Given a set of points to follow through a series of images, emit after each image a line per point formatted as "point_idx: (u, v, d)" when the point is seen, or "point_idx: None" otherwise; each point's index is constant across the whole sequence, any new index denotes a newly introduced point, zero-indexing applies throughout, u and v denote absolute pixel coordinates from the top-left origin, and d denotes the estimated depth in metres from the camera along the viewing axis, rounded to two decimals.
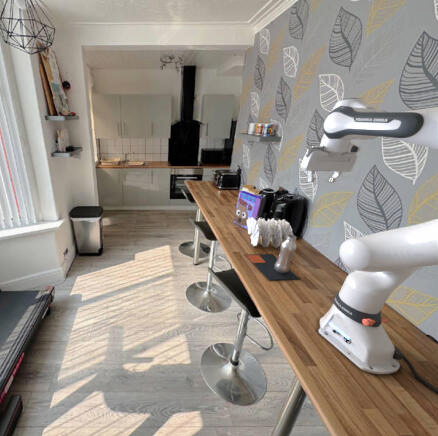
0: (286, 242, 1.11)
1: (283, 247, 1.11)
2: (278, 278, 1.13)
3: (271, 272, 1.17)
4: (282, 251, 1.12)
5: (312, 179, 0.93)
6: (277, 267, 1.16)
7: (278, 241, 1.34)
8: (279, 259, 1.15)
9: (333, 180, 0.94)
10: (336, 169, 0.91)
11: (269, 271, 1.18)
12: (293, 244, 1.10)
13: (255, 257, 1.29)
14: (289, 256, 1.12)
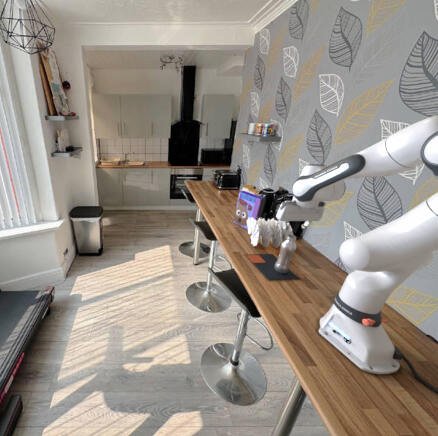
0: (286, 242, 1.11)
1: (283, 247, 1.11)
2: (278, 278, 1.13)
3: (271, 272, 1.17)
4: (282, 251, 1.12)
5: (286, 227, 1.07)
6: (277, 267, 1.16)
7: (278, 241, 1.34)
8: (279, 259, 1.15)
9: (305, 227, 1.08)
10: (306, 219, 1.05)
11: (269, 271, 1.18)
12: (293, 244, 1.10)
13: (255, 257, 1.29)
14: (289, 256, 1.12)
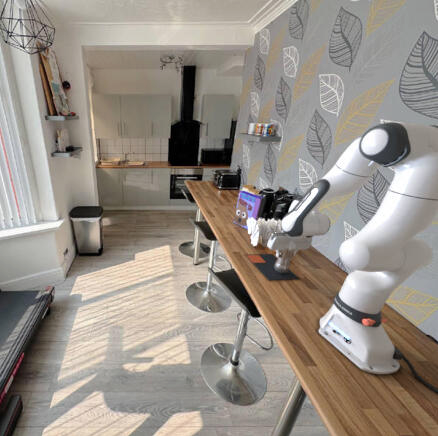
0: None
1: None
2: (278, 278, 1.13)
3: (271, 272, 1.17)
4: (282, 251, 1.13)
5: (279, 255, 1.13)
6: (277, 267, 1.16)
7: None
8: (279, 259, 1.15)
9: (292, 255, 1.15)
10: (296, 248, 1.12)
11: (269, 271, 1.18)
12: (293, 244, 1.10)
13: (255, 257, 1.29)
14: (289, 256, 1.12)
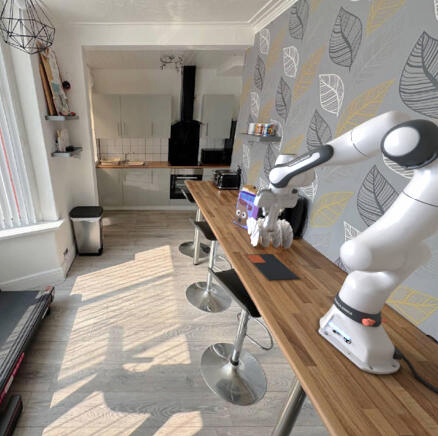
0: None
1: None
2: (278, 278, 1.13)
3: (271, 272, 1.17)
4: (268, 209, 1.14)
5: (265, 213, 1.15)
6: (264, 226, 1.17)
7: (278, 241, 1.34)
8: (266, 218, 1.16)
9: None
10: (282, 206, 1.13)
11: (269, 271, 1.18)
12: (279, 200, 1.11)
13: (255, 257, 1.29)
14: (275, 213, 1.13)
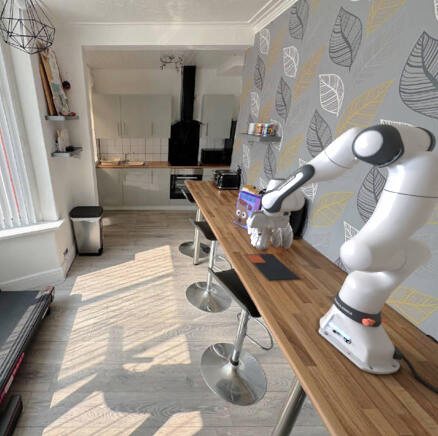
0: None
1: None
2: (278, 278, 1.13)
3: (271, 272, 1.17)
4: (261, 229, 1.19)
5: (258, 233, 1.20)
6: (257, 245, 1.22)
7: (278, 241, 1.34)
8: (259, 237, 1.21)
9: (271, 234, 1.21)
10: (274, 226, 1.18)
11: (269, 271, 1.18)
12: (271, 222, 1.16)
13: (255, 257, 1.29)
14: (268, 234, 1.18)
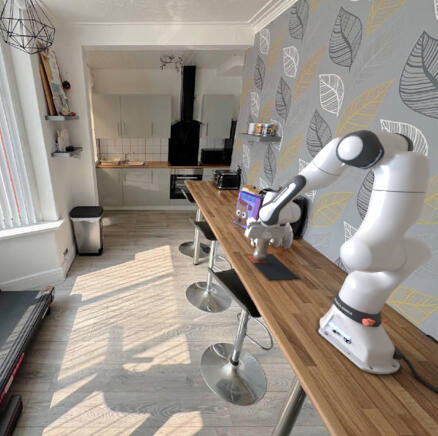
0: None
1: None
2: (278, 278, 1.13)
3: (271, 272, 1.17)
4: (259, 240, 1.21)
5: (254, 244, 1.22)
6: (255, 255, 1.24)
7: (278, 241, 1.34)
8: (256, 248, 1.24)
9: (270, 244, 1.23)
10: None
11: (269, 271, 1.18)
12: (268, 234, 1.18)
13: None
14: (265, 245, 1.20)
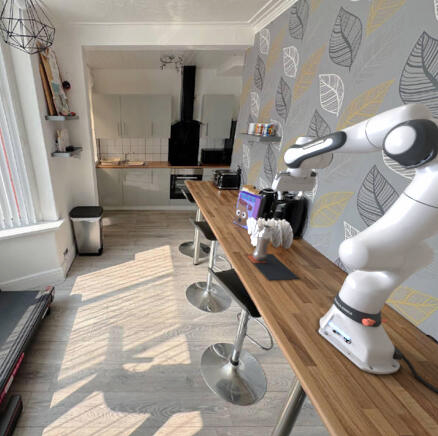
0: (262, 232, 1.20)
1: (259, 236, 1.20)
2: (278, 278, 1.13)
3: (271, 272, 1.17)
4: (259, 240, 1.21)
5: (281, 197, 1.15)
6: (255, 255, 1.24)
7: (278, 241, 1.34)
8: (256, 248, 1.24)
9: (298, 198, 1.16)
10: (300, 189, 1.13)
11: (269, 271, 1.18)
12: (268, 233, 1.18)
13: None
14: (265, 245, 1.20)
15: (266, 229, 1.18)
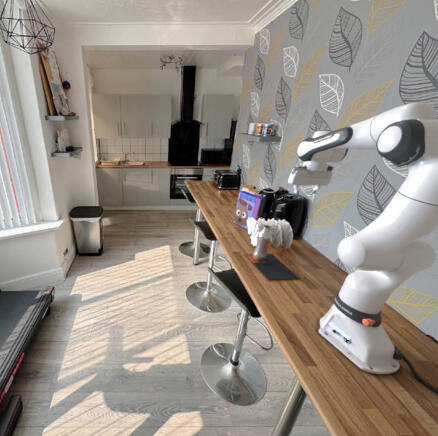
0: (262, 232, 1.20)
1: (259, 236, 1.20)
2: (278, 278, 1.13)
3: (271, 272, 1.17)
4: (259, 240, 1.21)
5: (297, 191, 1.16)
6: (255, 255, 1.24)
7: (278, 241, 1.34)
8: (256, 248, 1.24)
9: (314, 192, 1.17)
10: (316, 183, 1.14)
11: (269, 271, 1.18)
12: (268, 233, 1.18)
13: None
14: (265, 245, 1.20)
15: (266, 229, 1.18)
